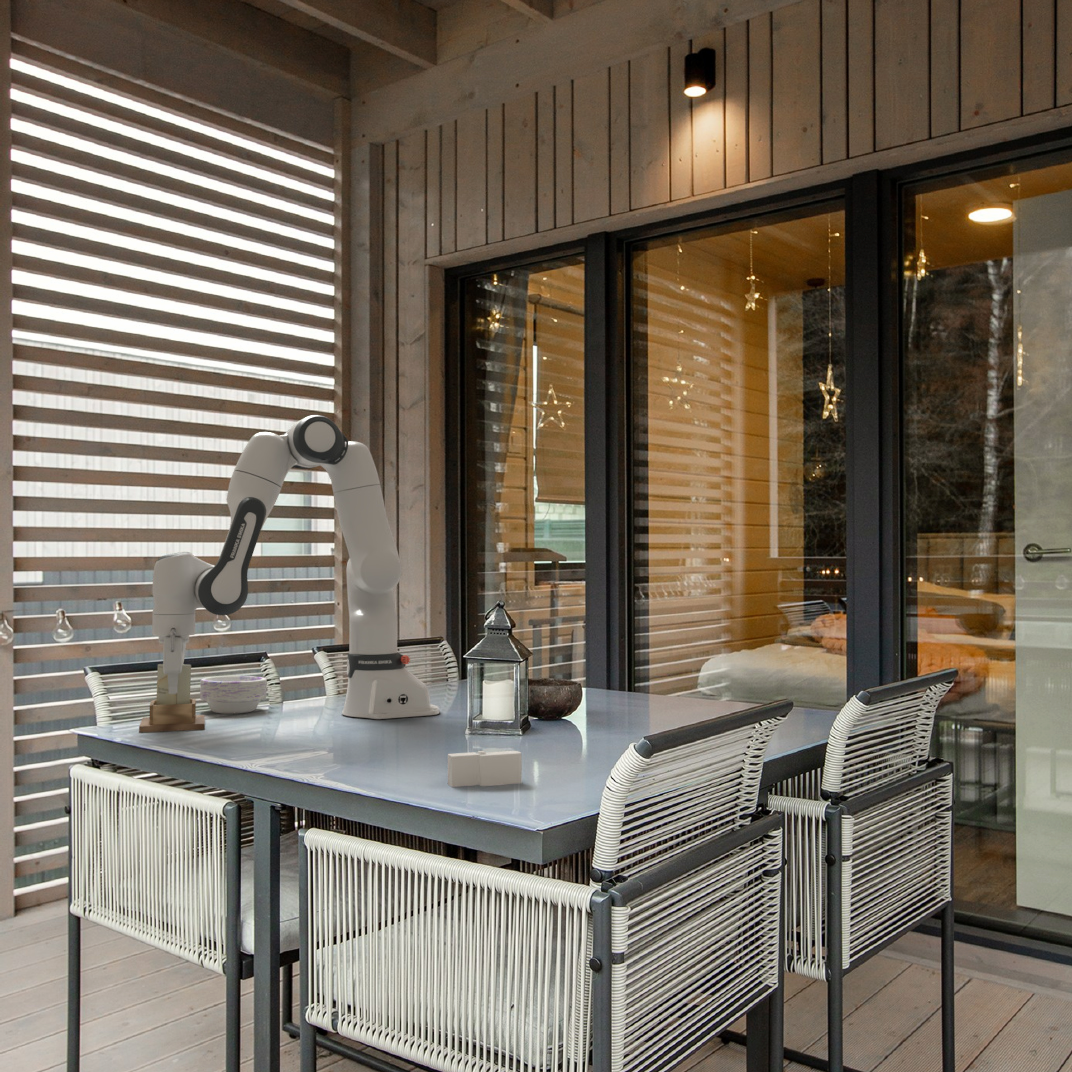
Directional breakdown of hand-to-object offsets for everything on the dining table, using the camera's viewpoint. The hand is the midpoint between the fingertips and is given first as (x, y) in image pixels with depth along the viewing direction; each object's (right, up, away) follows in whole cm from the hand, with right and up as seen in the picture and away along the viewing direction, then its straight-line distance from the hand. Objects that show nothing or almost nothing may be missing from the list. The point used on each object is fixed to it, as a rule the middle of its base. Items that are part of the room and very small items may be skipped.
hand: (173, 691), depth 229 cm
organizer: (0, -8, 0) cm, 8 cm away
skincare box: (0, -7, 0) cm, 7 cm away
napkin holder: (+70, -7, -57) cm, 90 cm away
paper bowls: (+7, -8, +22) cm, 24 cm away
